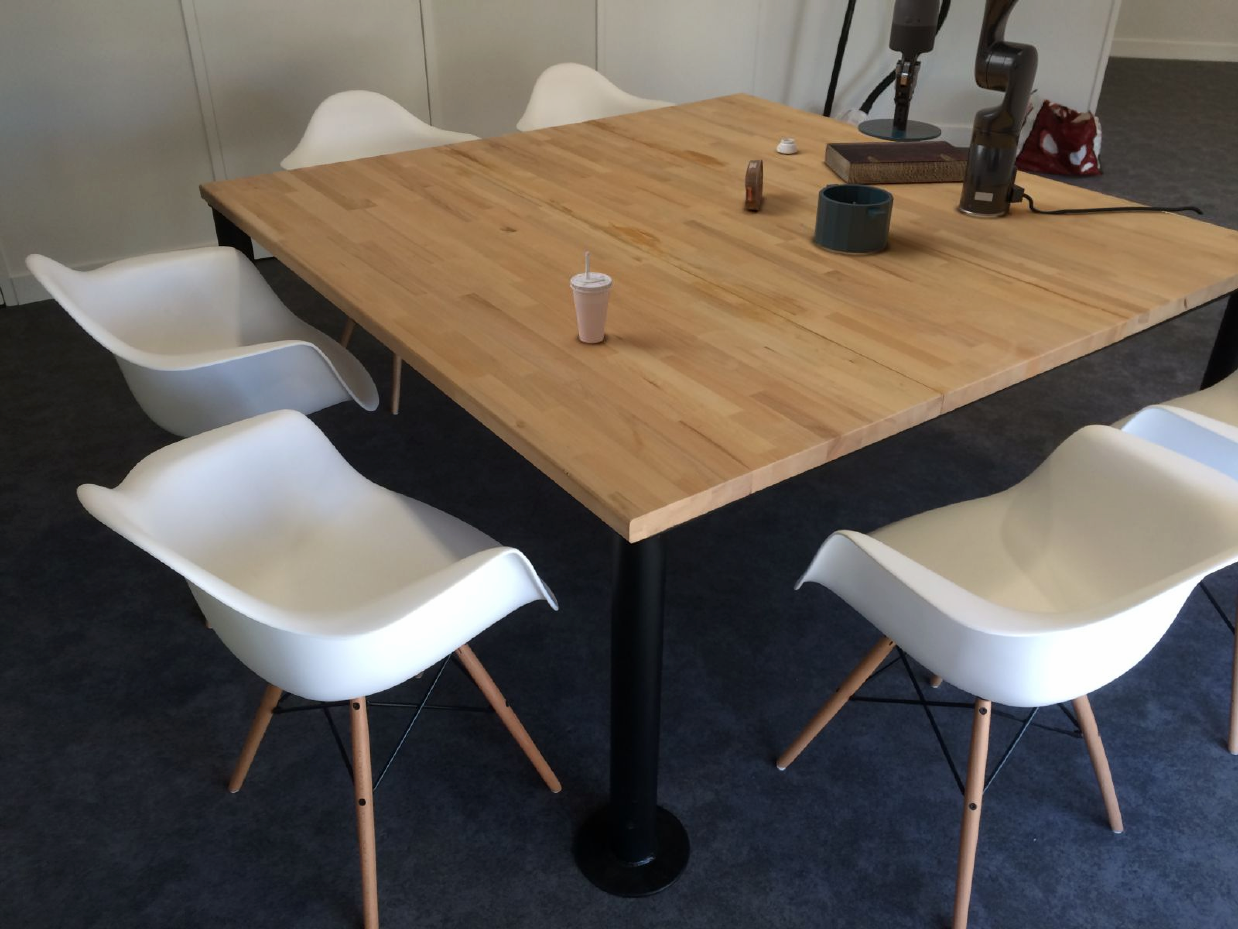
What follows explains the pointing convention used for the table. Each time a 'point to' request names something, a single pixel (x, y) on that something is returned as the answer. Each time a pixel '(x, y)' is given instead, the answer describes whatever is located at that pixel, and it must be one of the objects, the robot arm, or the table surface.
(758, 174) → the tin
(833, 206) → the pot
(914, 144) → the hardback book
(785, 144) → the lidless jar
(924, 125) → the lid
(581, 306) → the smoothie
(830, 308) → the table surface
